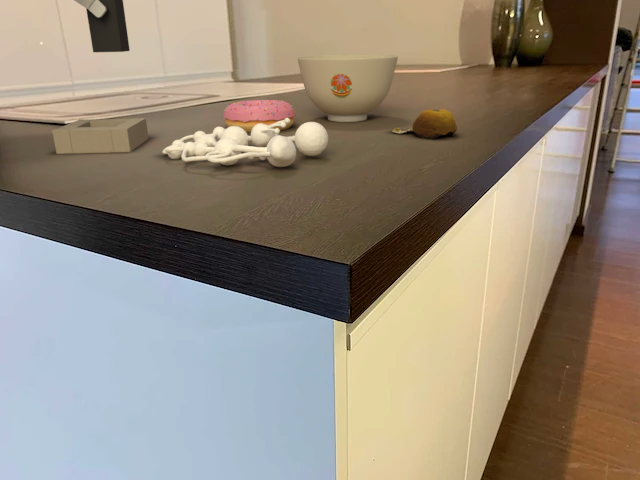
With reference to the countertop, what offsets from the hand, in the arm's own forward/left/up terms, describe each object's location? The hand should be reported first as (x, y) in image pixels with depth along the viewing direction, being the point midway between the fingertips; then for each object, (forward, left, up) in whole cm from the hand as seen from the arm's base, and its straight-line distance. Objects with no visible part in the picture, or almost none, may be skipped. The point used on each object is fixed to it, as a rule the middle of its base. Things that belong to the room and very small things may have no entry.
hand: (110, 14), depth 76 cm
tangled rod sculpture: (+29, -3, -17) cm, 34 cm away
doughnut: (+14, +14, -17) cm, 26 cm away
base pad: (+8, -8, -16) cm, 20 cm away
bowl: (+19, +29, -17) cm, 39 cm away
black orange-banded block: (0, 0, -5) cm, 5 cm away
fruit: (+37, +25, -17) cm, 48 cm away
